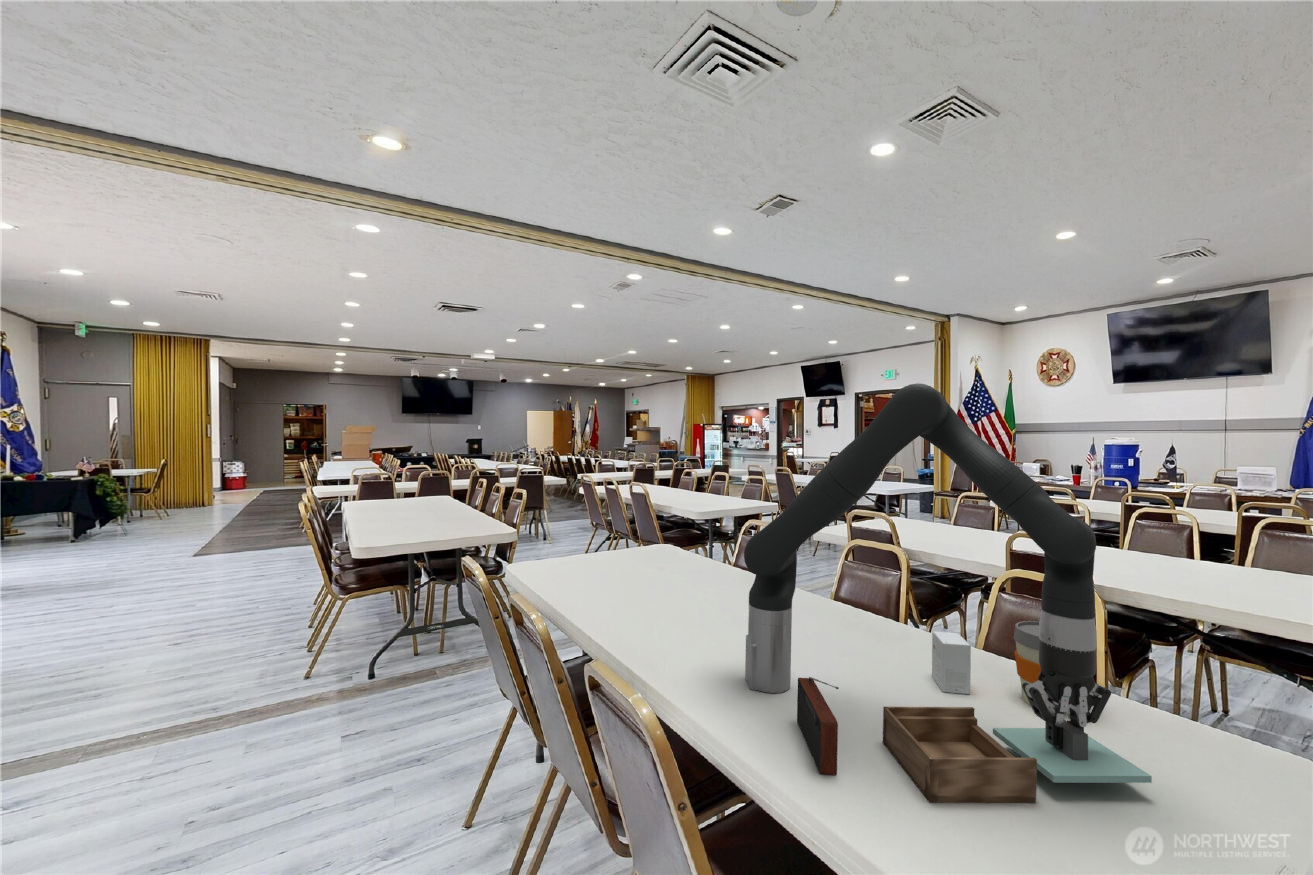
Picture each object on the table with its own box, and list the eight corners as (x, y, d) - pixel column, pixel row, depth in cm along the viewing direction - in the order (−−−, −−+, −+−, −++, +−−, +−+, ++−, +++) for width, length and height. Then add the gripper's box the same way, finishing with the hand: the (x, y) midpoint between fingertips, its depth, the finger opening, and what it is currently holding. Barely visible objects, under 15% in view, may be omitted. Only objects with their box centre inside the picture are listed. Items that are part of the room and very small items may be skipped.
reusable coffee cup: (1066, 724, 106) (1067, 646, 105) (999, 696, 117) (1000, 625, 117) (1100, 710, 111) (1101, 636, 111) (1033, 685, 122) (1035, 617, 122)
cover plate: (1053, 782, 83) (1053, 748, 83) (992, 733, 97) (992, 704, 97) (1151, 782, 83) (1151, 748, 83) (1076, 733, 98) (1076, 705, 98)
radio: (794, 722, 105) (796, 642, 105) (811, 722, 105) (812, 643, 105) (820, 783, 86) (822, 686, 86) (840, 784, 86) (842, 687, 86)
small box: (970, 695, 117) (971, 645, 117) (942, 692, 118) (942, 643, 118) (958, 679, 125) (958, 632, 125) (931, 676, 126) (932, 630, 126)
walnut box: (929, 802, 82) (930, 759, 82) (882, 742, 98) (883, 706, 98) (1036, 802, 82) (1036, 759, 82) (972, 743, 98) (972, 707, 98)
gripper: (1041, 648, 87) (1039, 759, 87) (1128, 649, 87) (1126, 760, 87) (1009, 632, 94) (1008, 734, 94) (1090, 632, 95) (1088, 734, 95)
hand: (1065, 746), depth 91 cm, fingers closed on cover plate, 2 cm apart
